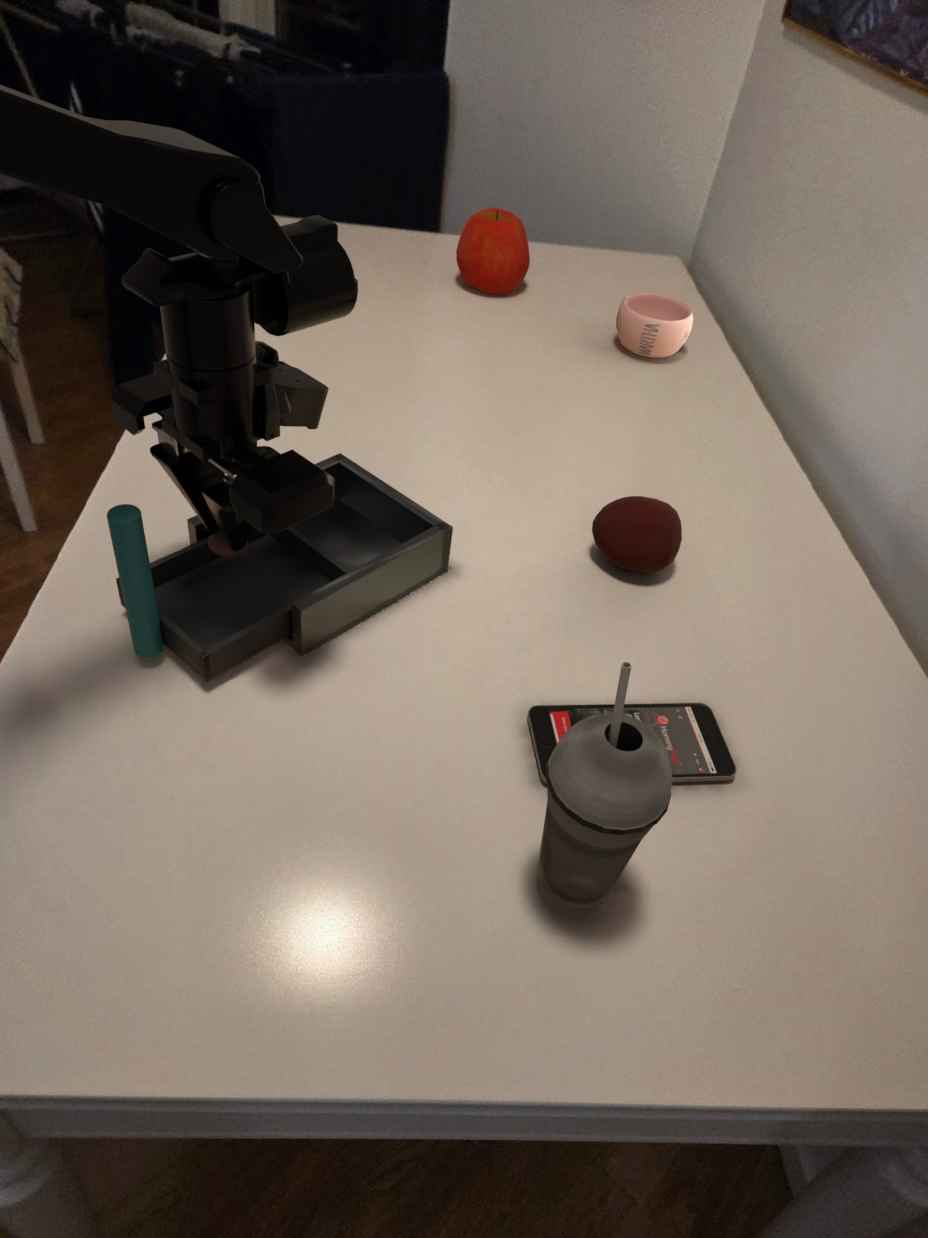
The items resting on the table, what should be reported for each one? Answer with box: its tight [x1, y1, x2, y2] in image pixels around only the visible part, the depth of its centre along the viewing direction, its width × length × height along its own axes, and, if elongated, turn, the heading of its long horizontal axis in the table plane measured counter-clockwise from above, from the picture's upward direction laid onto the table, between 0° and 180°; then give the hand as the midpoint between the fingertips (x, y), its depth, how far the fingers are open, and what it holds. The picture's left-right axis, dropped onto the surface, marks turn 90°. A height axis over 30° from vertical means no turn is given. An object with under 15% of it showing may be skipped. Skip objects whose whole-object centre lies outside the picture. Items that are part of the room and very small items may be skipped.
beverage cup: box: [536, 661, 673, 919], centre depth 52 cm, size 7×7×20 cm
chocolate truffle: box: [208, 530, 248, 557], centre depth 68 cm, size 3×3×2 cm
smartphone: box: [526, 702, 738, 785], centre depth 67 cm, size 7×1×15 cm
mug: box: [615, 291, 694, 359], centre depth 119 cm, size 12×10×6 cm
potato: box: [591, 495, 683, 573], centre depth 83 cm, size 7×8×7 cm
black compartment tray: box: [106, 503, 351, 684], centre depth 68 cm, size 17×12×13 cm
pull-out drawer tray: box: [186, 452, 454, 657], centre depth 78 cm, size 17×15×5 cm
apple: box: [455, 207, 531, 295], centre depth 127 cm, size 11×11×11 cm
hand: (227, 540), depth 68 cm, fingers closed on chocolate truffle, 2 cm apart
